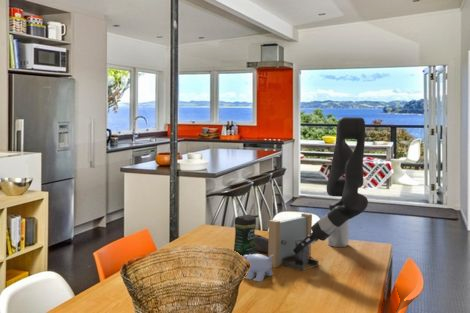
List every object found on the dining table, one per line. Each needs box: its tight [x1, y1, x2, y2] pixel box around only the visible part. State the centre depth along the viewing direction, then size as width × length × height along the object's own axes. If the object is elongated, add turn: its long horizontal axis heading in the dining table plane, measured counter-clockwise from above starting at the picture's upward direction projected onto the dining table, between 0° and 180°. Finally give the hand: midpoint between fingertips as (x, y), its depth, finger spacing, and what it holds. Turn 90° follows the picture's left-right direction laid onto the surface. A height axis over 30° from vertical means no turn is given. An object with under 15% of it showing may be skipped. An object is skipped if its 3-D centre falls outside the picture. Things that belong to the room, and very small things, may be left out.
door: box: [267, 212, 313, 268], centre depth 199 cm, size 24×5×19 cm, turn 133°
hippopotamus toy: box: [243, 253, 274, 282], centre depth 180 cm, size 11×15×10 cm
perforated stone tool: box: [255, 233, 269, 254], centre depth 213 cm, size 15×5×7 cm, turn 42°
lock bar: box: [295, 239, 310, 267], centre depth 193 cm, size 4×4×10 cm
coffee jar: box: [233, 214, 257, 256], centre depth 204 cm, size 10×8×19 cm
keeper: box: [282, 255, 319, 272], centre depth 194 cm, size 11×10×3 cm
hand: (298, 249), depth 194 cm, fingers open, 8 cm apart
